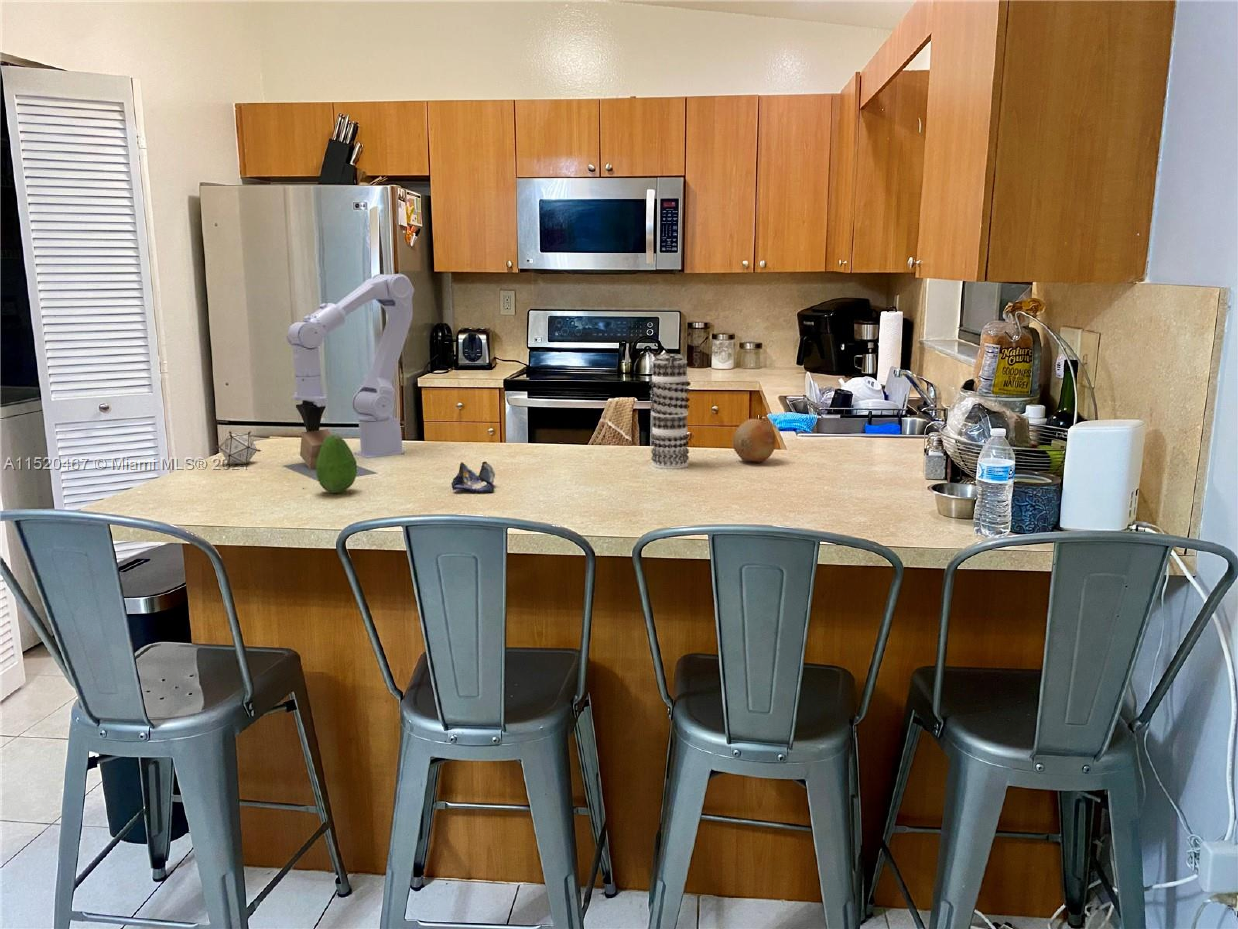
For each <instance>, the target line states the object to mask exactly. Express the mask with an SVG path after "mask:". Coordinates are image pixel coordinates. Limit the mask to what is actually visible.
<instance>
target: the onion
mask: <svg viewBox="0 0 1238 929" xmlns="http://www.w3.org/2000/svg"><path fill="white" fill-rule="evenodd" d="M776 443H777V439H776V434H775V432H774V430H773V429H772V427H771V425H770V424H769V423H768V422H766V421H764V420H762V419H758V418H749V419H747V420H745V421H743V423H741V424H740V425H739V426H738V427H737V428H736V430H735V432H734V433H733V438H732V447H733V450H734V452H735V453H736V455H737V456H738V457H739V458H740V459H741V460H742V461H744V462H750V463H758V464H760V463H764V462H765V461H767V459H769V458H770V457H771V455H772V454H773V453H774V451H775V448H776Z"/></svg>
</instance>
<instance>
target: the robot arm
mask: <svg viewBox="0 0 1238 929" xmlns="http://www.w3.org/2000/svg"><path fill="white" fill-rule="evenodd" d="M414 293H415V288H414V286H413V285H412V283H411V281H410V279H409V277H408V276H406V274H402V273H396V274H383V273H378V274H374V275H373V276H372V277H370V278H368V279H366V280H365V281H364V282H363V283H362V284H360V285H359V286H358V287H357V288H355V289H354V290H353V291H351V292H350V293H349V294H348V295H346V296H345V297H344V298H342V299H341V300H340V301H339V302H337V303H333V302H328V303H325V302H324V303H321V304H319V306H318V307H319V308H318V309H317V310H316V311H314V312H313V313H312V314H311V313H310V315H305V316H303V321H302V322H301V321H297V322H294V323H292V324H291V325H290V326H289V329H288V331H287V334H285V338H286V340H287V343H289V345H290V346H291V349H292V350H291V351H292V359H293V369H294V370H293V371H294V381H295V391H294V392H293V395H291V400H294V401H299V402H301V403H300V404H296V405H295V408H296V410H297V412H298V413H299V415H300V416H301V419H302V421H303V424H304V427H305V432H309V431H317V430H320V428H321V421H322V416H323V414H324V411H325V409H326V407H327V406H328V401H327V400H328V398H327V397H326V396H325V393H323V392H324V391H323V380H322V369H321V358H320V346H321V345H322V343H323V341H324V338H326V337H327V336H328V335H330V334H331V333H333V332H334V331H336V330H337V329H338V328H340V327H341V326H343V325H344V324H345V322H346V316H348V315H350V314H351V313H353V312H355V311H356V310H357V309H359V308H361V307H362V306H364V305H366V304H367V303H369V302H370V301H373V300H375V301H376V302H377V303H378V304H379V305H380V307H382V308H383V309H384V311H385V313H386V315H387V316H388V317H387V320H386V324H385V327H384V329H383V333H382V335H381V337H380V342H379V345H378V347H377V351H376V354H375V357H374V361H373V363H372V365H371V366H372V367H371V369H370V372H369V376H368V377H367V378H366V379H365V380H363V381H362V383H361V384H360V385H359V389H358V391H356V392H355V393H354V395H353V396H352V400H351V407H352V409H353V411H354V412H355V413H356V414H357V418H358V430H359V431H358V432H359V443H360V451H355V452H354V455H357V456H360V457H363V458H366V459H372V458H381V457H387V456H392V455H402V454H404V453H405V451H403V439H402V428H401V423H400V421H399V419H398V418H397V417H396V416H391V415H392V413H393V412H394V410H395V402H394V401H395V400H394V398H395V396H396V391H395V389H394V387H393V385H392V383H393V379H394V376H395V374H396V369H397V367H398V364H399V361H400V357H401V354H402V351H403V349H404V345H405V341H406V339H407V335H408V333H409V330H410V326H411V323H412V320H413V315H414V311H413V296H414ZM380 456H381V457H380Z"/></svg>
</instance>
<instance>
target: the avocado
mask: <svg viewBox="0 0 1238 929" xmlns="http://www.w3.org/2000/svg"><path fill="white" fill-rule="evenodd" d="M357 466H358V465H357V461H356V459H355V457H354V453H353V452H352V450H351V448H350V446H349V445H348V444H347V442H346V441H345V440H344V439H343V438H342V437H341V436H338V435H335V434H332V435H331V436H328V437H327V438H326V439H325V440H324V441H323V443H322V446H321V449H320V452H319V455H318V458H317V462H316V475H317V478H318V480H319V481H318V483H319V485H320V486H321V487H322V489H324V490H325V491H327V493H328V492H329V493H331V494H341V493H343V492H345V491H347V490H348V489H349V488H351V487H352V486H353V484H354V483H355V480H356V478H357V477H356V474H357Z"/></svg>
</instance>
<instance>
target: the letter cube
mask: <svg viewBox="0 0 1238 929" xmlns="http://www.w3.org/2000/svg"><path fill="white" fill-rule="evenodd" d="M331 435H333V433H331V431H330V430H329V429H328V428H326V429H319V430H317V431H309V432H307V431H302V432H301V436H300V437H301V439H300V449H299V456H300V458H301V459H302V460H303V461H304V462H303V463H306V464H307V466H308V467H309V468H310V469H314V468H316V462H317V458H318V455H319V452H320V449H321V446H322V443H323V441H324V440H325V439H326V438H327V437H328V436H331Z"/></svg>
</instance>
